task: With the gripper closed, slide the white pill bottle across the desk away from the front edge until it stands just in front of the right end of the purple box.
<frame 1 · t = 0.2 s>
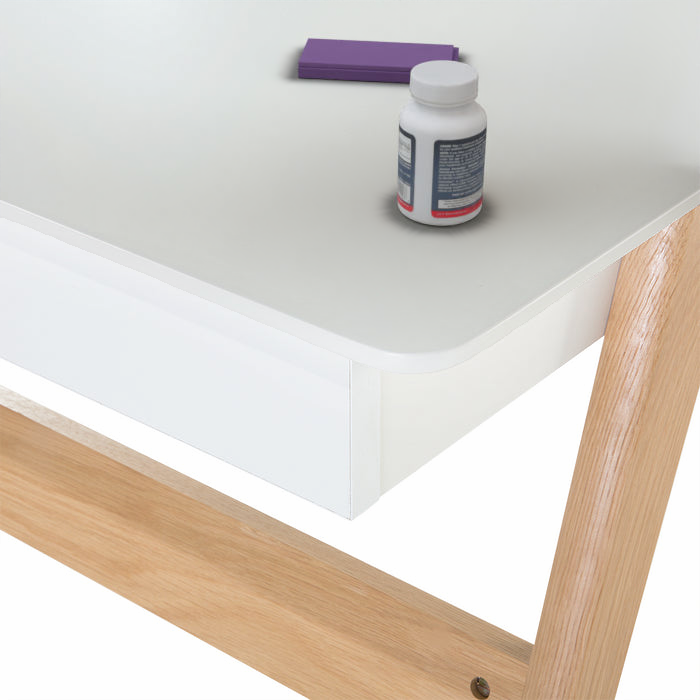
pill bottle: (439, 210, 77), on the table
purple box: (379, 67, 96), on the table
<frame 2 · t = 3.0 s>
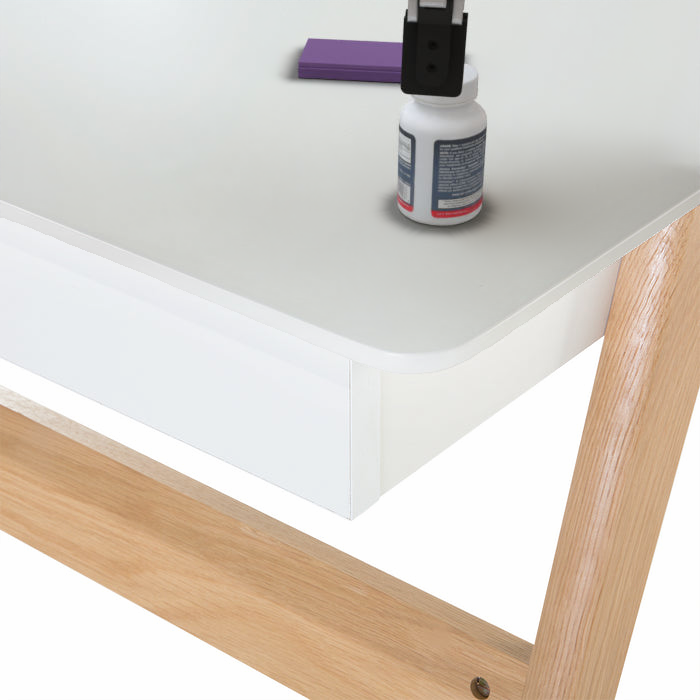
hand: (431, 89, 65), 11 cm above the table, tool pointing down, fingers closed
nothing on the table moved.
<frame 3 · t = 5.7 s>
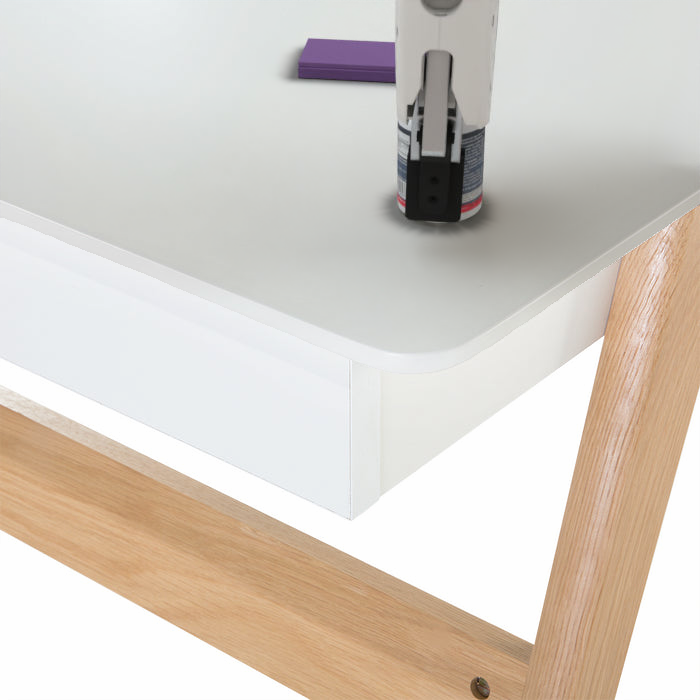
hand: (433, 214, 71), 2 cm above the table, tool pointing down, fingers closed
pill bottle: (439, 209, 77), on the table, touching gripper
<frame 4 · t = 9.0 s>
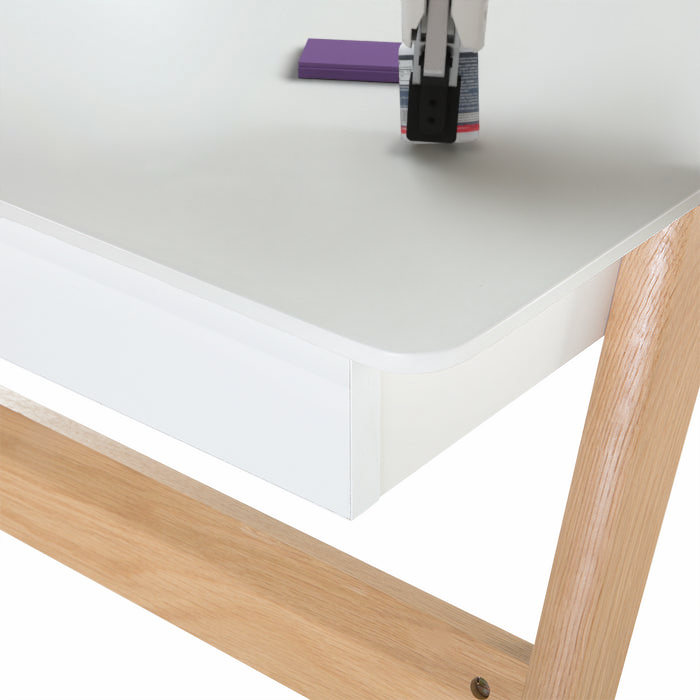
hand: (431, 136, 79), 3 cm above the table, tool pointing down, fingers closed
pill bottle: (440, 144, 83), point 1 cm above the table, touching gripper
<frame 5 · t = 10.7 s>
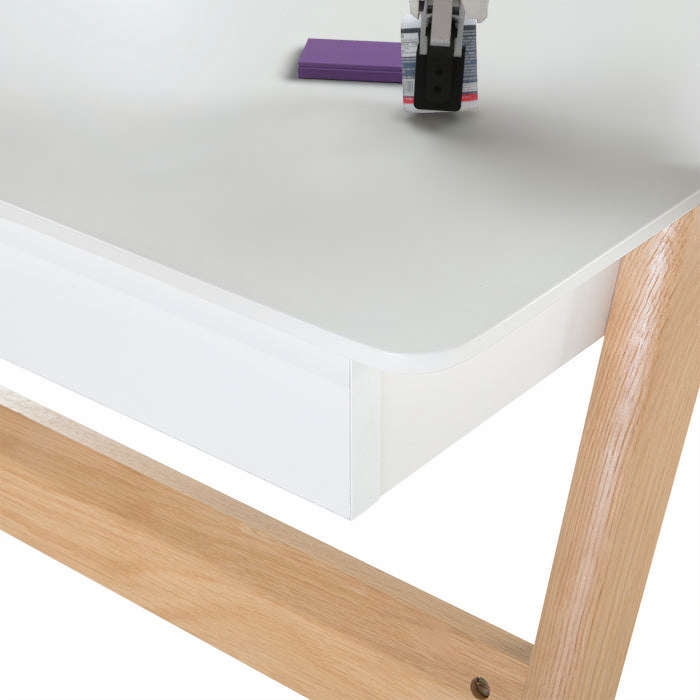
hand: (437, 105, 83), 3 cm above the table, tool pointing down, fingers closed
pill bottle: (440, 113, 87), point 1 cm above the table, touching gripper
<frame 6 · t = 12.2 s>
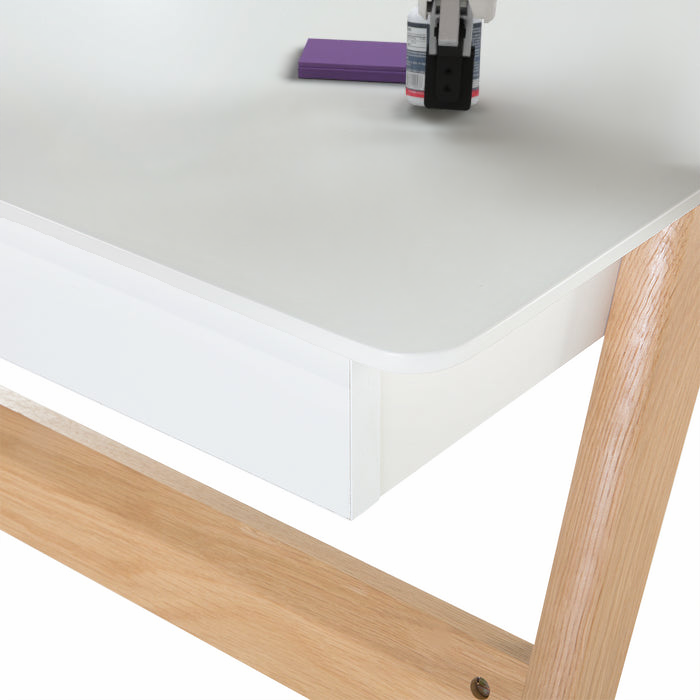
hand: (447, 104, 85), 2 cm above the table, tool pointing down, fingers closed
pill bottle: (441, 105, 89), on the table, touching gripper
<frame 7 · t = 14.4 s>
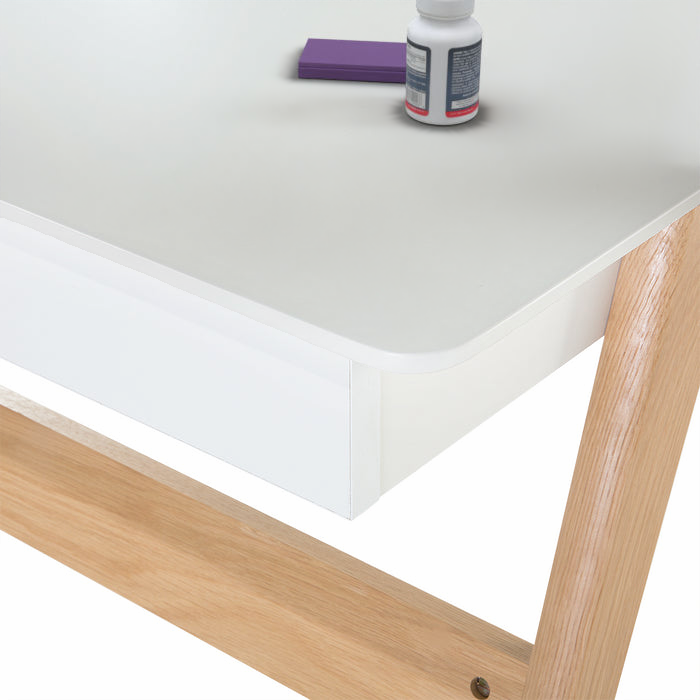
pill bottle: (441, 114, 89), on the table
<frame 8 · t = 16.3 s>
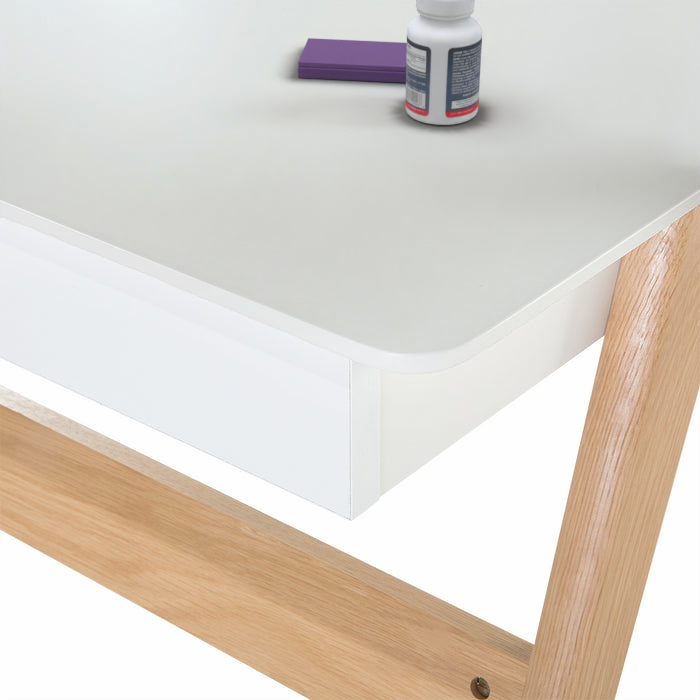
nothing on the table moved.
at the end: pill bottle inside the target area on the table beside the purple box (2.3 cm from its centre), on the table; pill bottle tilted 0° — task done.
